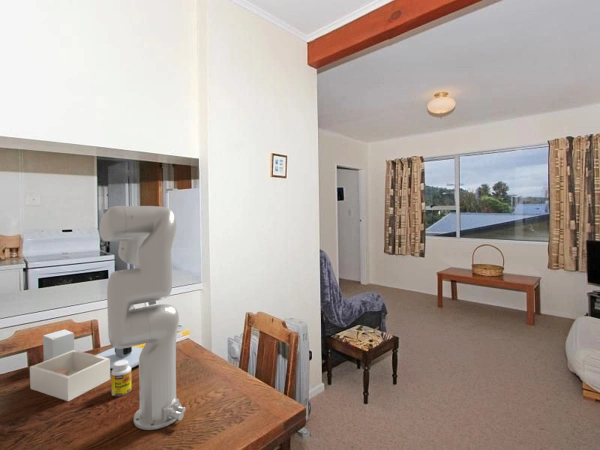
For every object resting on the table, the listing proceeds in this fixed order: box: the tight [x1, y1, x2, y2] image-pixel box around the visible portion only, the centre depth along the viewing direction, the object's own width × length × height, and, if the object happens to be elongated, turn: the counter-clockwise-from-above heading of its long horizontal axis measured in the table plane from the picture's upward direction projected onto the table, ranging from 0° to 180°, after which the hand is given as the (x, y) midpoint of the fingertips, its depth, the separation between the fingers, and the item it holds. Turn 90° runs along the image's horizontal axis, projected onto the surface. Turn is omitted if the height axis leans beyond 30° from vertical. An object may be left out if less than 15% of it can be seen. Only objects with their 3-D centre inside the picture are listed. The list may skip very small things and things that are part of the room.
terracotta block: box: [53, 369, 68, 376], centre depth 109 cm, size 4×4×4 cm
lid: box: [96, 346, 143, 370], centre depth 125 cm, size 19×15×7 cm
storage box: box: [29, 349, 111, 402], centre depth 109 cm, size 18×14×8 cm
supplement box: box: [42, 329, 75, 362], centre depth 122 cm, size 7×7×13 cm
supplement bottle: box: [110, 360, 132, 397], centre depth 105 cm, size 6×6×10 cm
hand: (123, 351), depth 125 cm, fingers closed on lid, 3 cm apart
